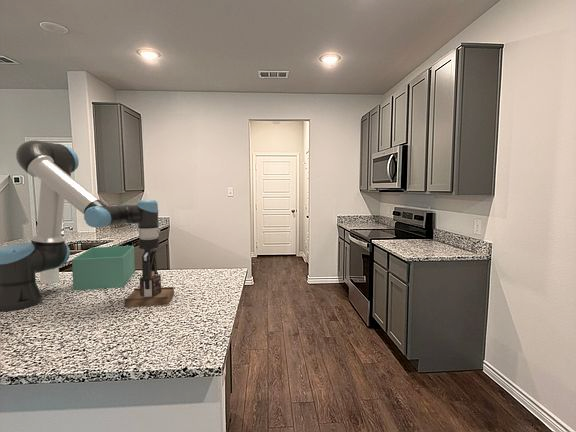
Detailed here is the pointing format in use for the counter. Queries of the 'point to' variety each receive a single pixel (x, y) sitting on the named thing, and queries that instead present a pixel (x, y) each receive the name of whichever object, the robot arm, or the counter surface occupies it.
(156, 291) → the box
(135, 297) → the dock
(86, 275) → the box
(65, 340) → the counter surface
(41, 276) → the milk
